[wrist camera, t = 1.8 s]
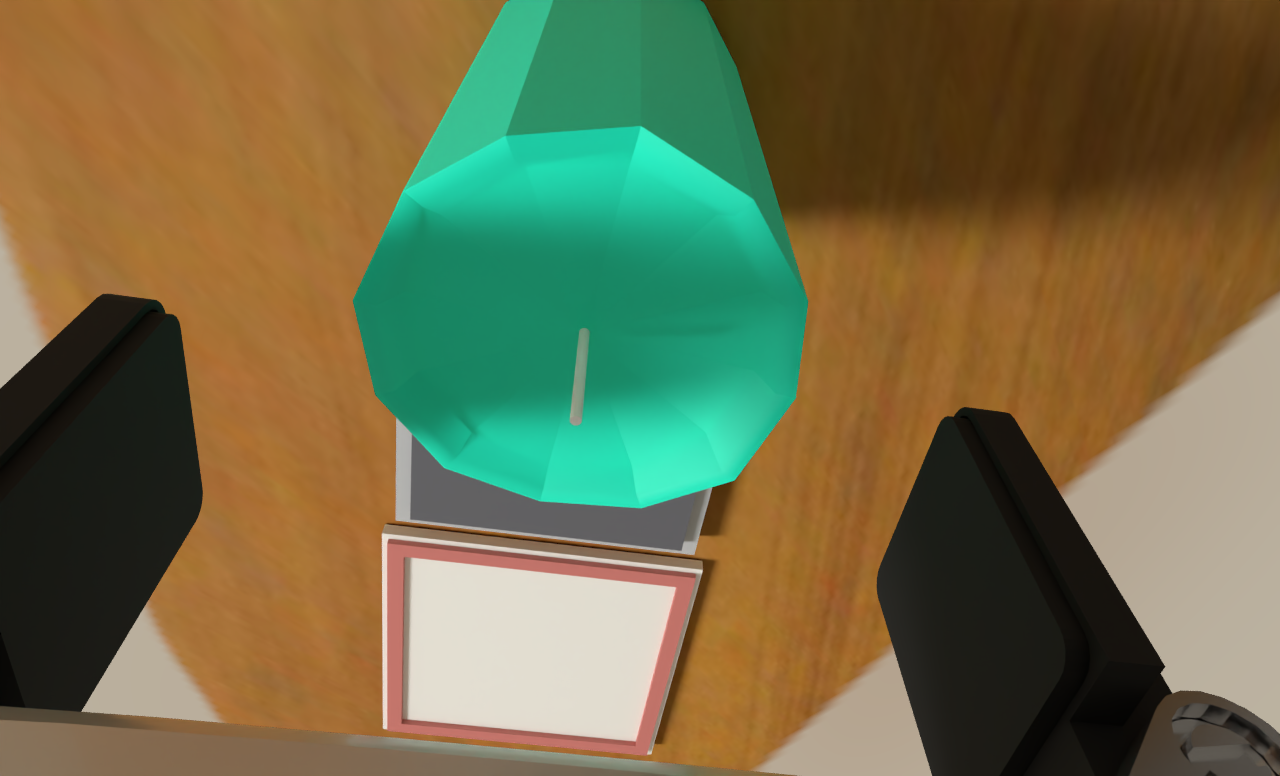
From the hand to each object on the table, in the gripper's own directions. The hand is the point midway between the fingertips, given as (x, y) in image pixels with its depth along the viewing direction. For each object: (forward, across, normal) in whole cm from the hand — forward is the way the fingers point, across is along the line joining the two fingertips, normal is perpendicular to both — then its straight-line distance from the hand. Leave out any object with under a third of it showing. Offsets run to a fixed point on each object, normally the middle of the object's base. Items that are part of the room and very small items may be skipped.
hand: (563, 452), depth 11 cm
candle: (+12, 0, -1) cm, 12 cm away
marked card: (+12, 0, +18) cm, 22 cm away
